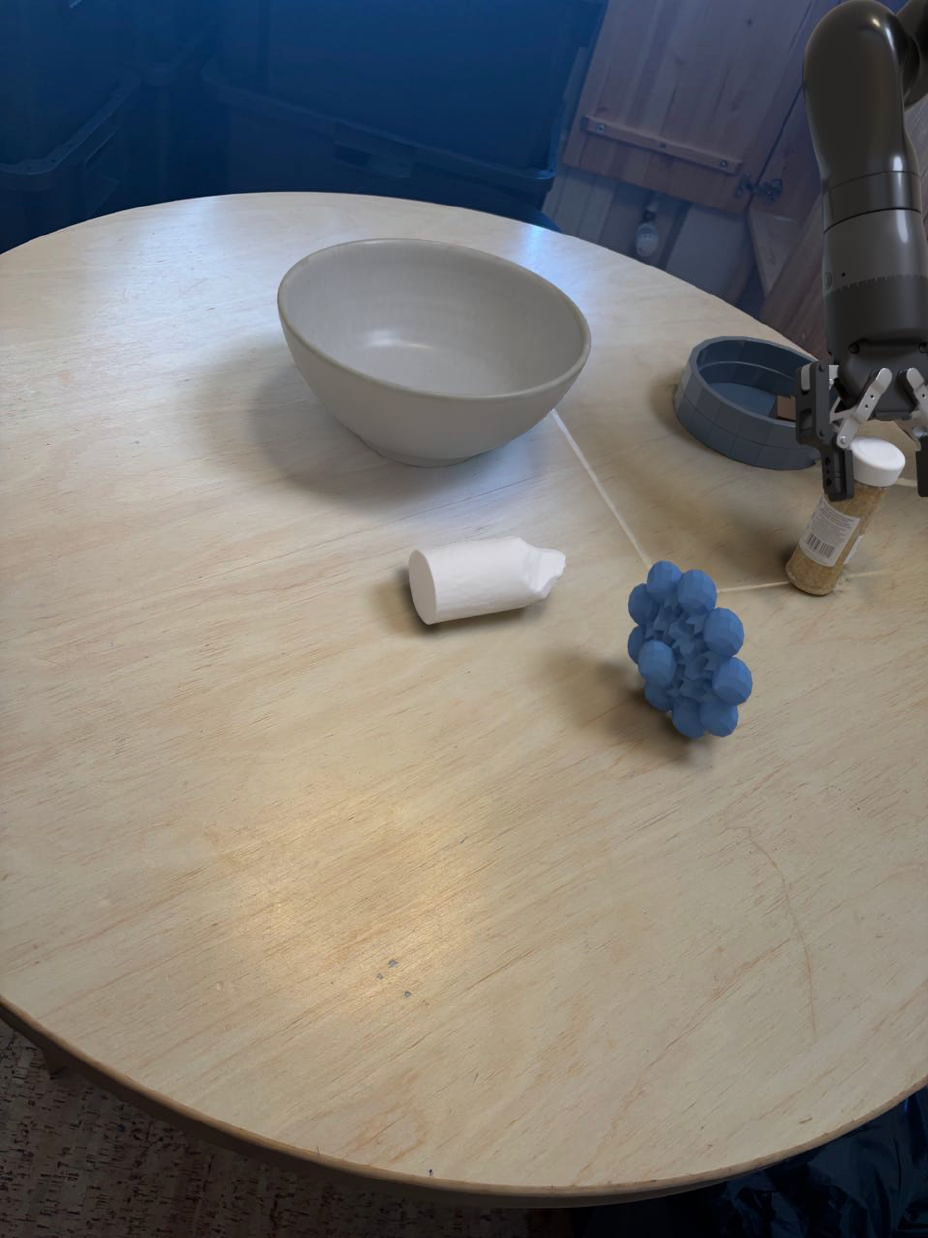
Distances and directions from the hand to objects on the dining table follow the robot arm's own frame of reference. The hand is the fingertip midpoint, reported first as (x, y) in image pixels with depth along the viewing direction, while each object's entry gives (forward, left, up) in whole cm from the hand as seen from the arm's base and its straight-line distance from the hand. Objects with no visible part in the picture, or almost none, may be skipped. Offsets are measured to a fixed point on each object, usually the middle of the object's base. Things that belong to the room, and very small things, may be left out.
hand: (887, 498), depth 73 cm
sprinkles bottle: (+1, -2, -11) cm, 11 cm away
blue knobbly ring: (+17, +15, -11) cm, 26 cm away
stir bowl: (+2, -26, -11) cm, 28 cm away
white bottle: (+29, +6, -11) cm, 32 cm away
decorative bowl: (+36, -16, -11) cm, 41 cm away
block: (0, -22, -10) cm, 24 cm away
